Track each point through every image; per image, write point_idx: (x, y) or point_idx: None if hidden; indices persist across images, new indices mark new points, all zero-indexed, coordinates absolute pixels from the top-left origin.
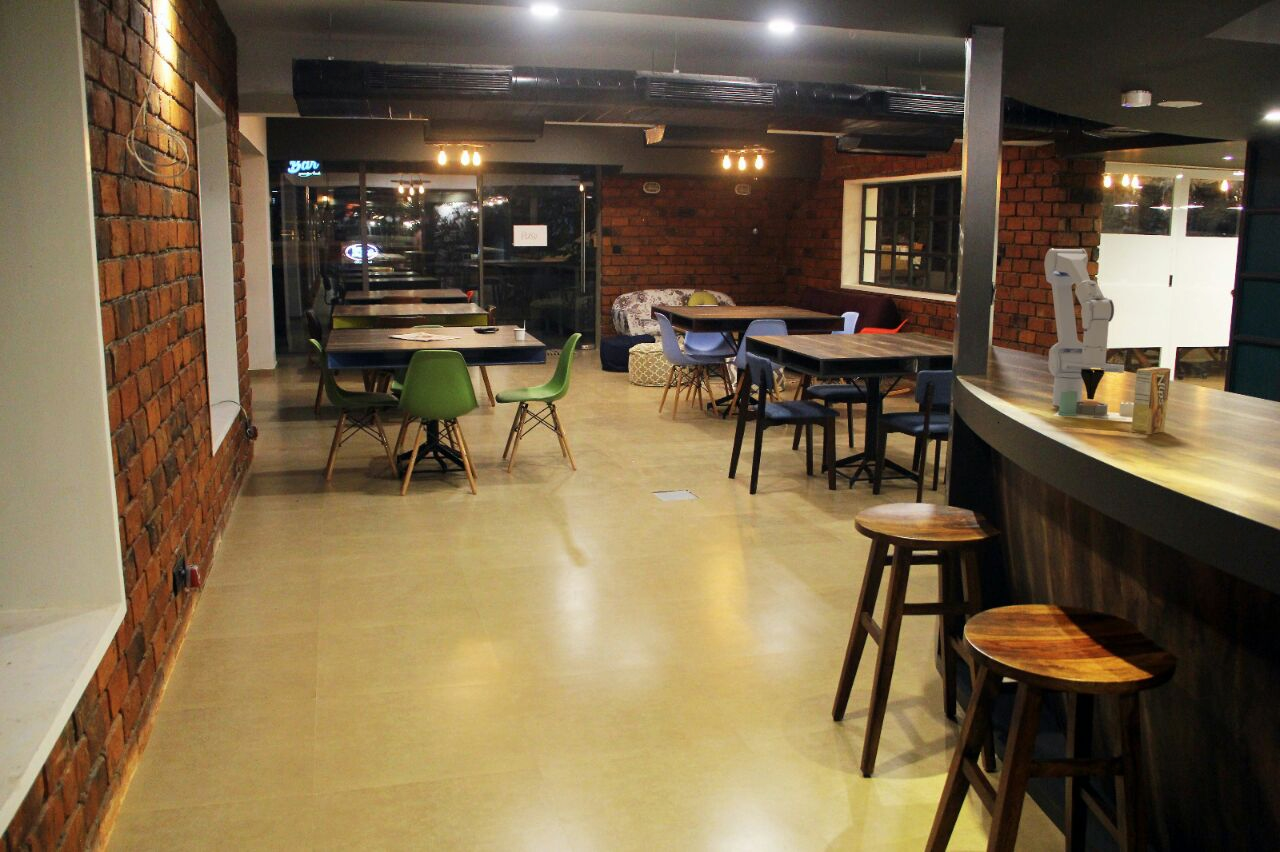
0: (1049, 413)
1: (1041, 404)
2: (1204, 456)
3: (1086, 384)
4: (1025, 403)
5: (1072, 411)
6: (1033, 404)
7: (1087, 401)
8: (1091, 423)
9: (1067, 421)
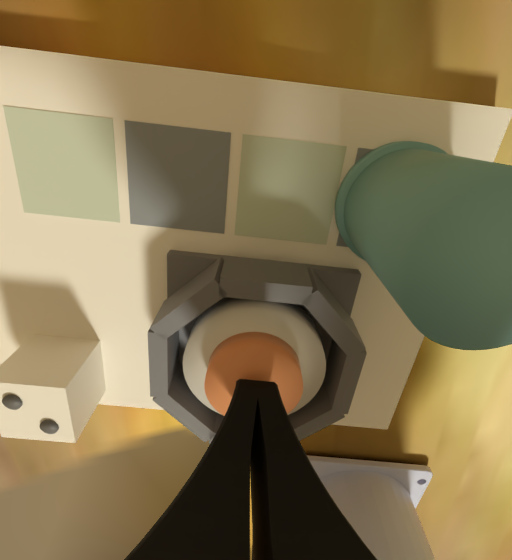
0: (449, 366)
1: None
2: None
3: (304, 480)
4: (489, 556)
5: (377, 163)
6: (463, 547)
7: (273, 368)
8: (232, 46)
9: (396, 71)
